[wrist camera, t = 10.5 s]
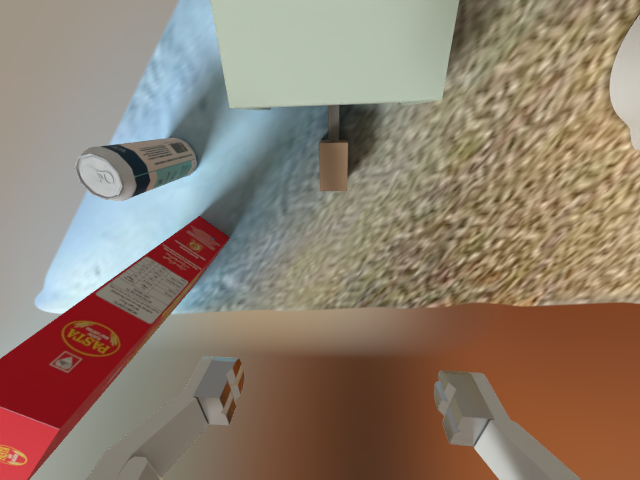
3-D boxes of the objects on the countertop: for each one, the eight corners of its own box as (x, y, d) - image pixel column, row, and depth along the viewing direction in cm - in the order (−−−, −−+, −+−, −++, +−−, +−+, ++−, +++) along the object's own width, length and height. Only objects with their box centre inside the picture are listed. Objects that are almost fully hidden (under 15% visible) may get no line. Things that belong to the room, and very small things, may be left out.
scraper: (364, 18, 24) (370, -5, 19) (357, 180, 31) (360, 190, 26) (304, 21, 24) (296, 0, 20) (311, 180, 31) (307, 191, 27)
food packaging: (188, 292, 42) (19, 490, 20) (160, 276, 40) (-54, 468, 18) (230, 237, 36) (59, 429, 14) (199, 216, 35) (-44, 389, 13)
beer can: (158, 135, 30) (59, 145, 19) (195, 138, 30) (116, 150, 19) (166, 173, 32) (82, 201, 21) (201, 177, 32) (133, 206, 21)
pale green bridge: (426, 9, 23) (466, -40, 16) (413, 104, 27) (441, 99, 19) (245, 21, 24) (206, -19, 17) (257, 110, 28) (229, 107, 21)
